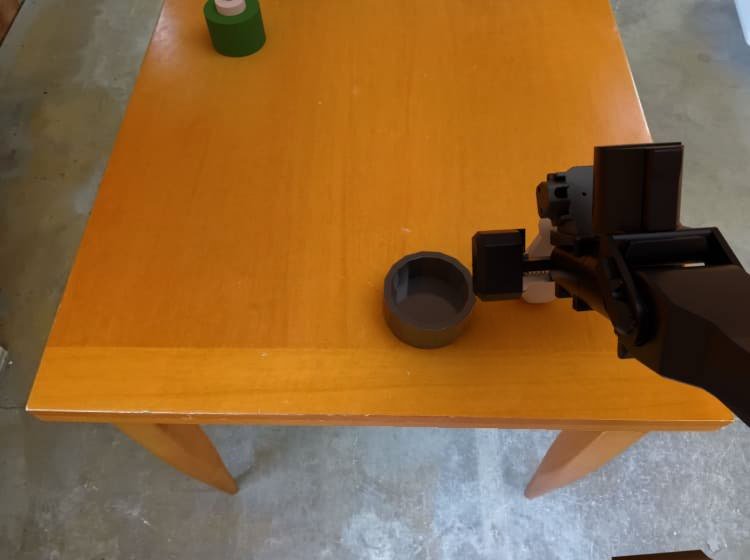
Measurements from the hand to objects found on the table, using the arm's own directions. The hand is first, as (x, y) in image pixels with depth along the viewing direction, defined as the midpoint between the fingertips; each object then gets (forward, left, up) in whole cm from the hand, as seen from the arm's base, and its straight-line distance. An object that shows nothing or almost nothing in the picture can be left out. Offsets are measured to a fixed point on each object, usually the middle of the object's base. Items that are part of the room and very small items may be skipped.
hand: (545, 245), depth 60 cm
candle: (+59, +1, -7) cm, 59 cm away
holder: (+5, +12, -7) cm, 14 cm away
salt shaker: (-1, +1, -7) cm, 7 cm away
